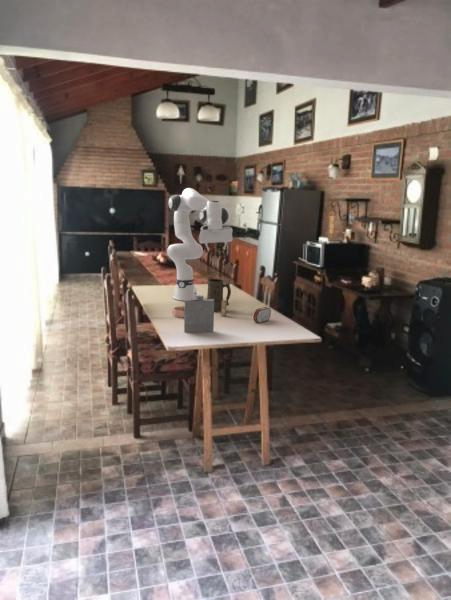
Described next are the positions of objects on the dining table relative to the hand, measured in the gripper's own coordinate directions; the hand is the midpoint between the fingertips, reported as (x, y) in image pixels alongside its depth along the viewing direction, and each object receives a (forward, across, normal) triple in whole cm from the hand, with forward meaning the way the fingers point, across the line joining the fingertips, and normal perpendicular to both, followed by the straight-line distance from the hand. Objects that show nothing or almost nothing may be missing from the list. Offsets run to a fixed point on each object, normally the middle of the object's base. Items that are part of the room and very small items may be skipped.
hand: (216, 250), depth 300 cm
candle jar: (+38, +22, -4) cm, 44 cm away
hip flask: (+46, +13, +33) cm, 58 cm away
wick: (+40, -2, -4) cm, 40 cm away
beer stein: (+37, +1, -19) cm, 42 cm away
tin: (+44, -24, +8) cm, 51 cm away
